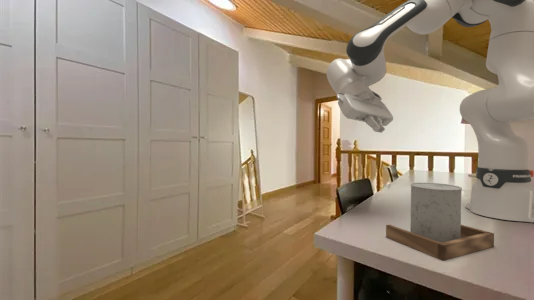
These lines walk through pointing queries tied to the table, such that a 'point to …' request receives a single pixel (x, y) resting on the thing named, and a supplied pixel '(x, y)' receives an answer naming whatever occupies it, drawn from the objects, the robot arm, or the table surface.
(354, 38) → the robot arm
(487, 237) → the walnut corral
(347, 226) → the table surface
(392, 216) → the table surface
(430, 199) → the grey speckled cylinder
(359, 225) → the table surface
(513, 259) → the table surface
